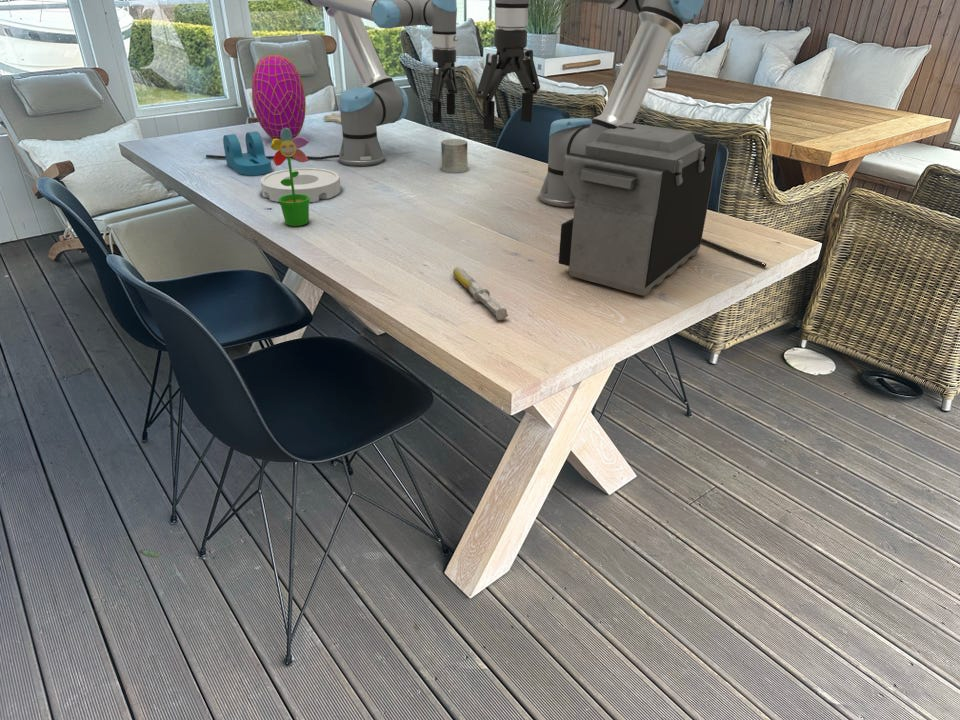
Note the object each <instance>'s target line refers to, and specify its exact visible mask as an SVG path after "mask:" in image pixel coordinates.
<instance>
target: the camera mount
mask: <svg viewBox="0 0 960 720" xmlns="http://www.w3.org/2000/svg"><path fill="white" fill-rule="evenodd" d="M222 140H223V141H222V143H223V149H224V150H223V151H224V156H226V159H225V161H226V165H227V166H228V167H230V168H231V169H232V170H234V171H236V172H237V173H238V174H239V175H244V176H260V175H267V174H270V173H271V172H272V164H271V159H268V158H266V156H267V155H266V153H265V145H264V141H263V139H262V136H261V134H260V132H258V131H247V132H246V133H245V146H246V152H243V151H242V150H243V149H242V146H241V142H240V140H239V138H238V135H236V134H235V133H231V134H224V135H223V138H222Z"/></svg>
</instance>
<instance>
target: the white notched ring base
mask: <svg viewBox="0 0 960 720" xmlns="http://www.w3.org/2000/svg"><path fill="white" fill-rule="evenodd" d="M294 171H297V172H299V174H298V175H297V176H296V177H294V178H293V183H294V191H295V194H304V195H307V196H309V203H315V202H319V201H320V200H328V199H332V198H333V197H335V196H337V195H339V194H340V193H341V190H342V188H341V187H342V185H341V176H340V174H339V173H338V172H336V171H333V170H330V169H326V168H318V167H295V168H292V172H294ZM283 179H290V173H289V168H287V169H281V170H277V171H276V170H275V171H273V172H272V171H271V172H269V173H266V174H264V175H263V176H262V177H261V178H260V187H261V188H260V189H261V194H262V196H263V198H266V199H267V198H268V199H269V201H272V202H276V203H279V198H280V197H282V196H285V195H290V194H292V188H291V186H284V185H282V184H281V181H282V180H283Z"/></svg>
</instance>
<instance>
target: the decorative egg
mask: <svg viewBox="0 0 960 720" xmlns="http://www.w3.org/2000/svg"><path fill="white" fill-rule="evenodd" d="M253 70H254V71H253V73H252V77H251V101H252V107H253V110H254V114H255V116H256V118H257V121H258V123H259V125H260V127H261V128H262V130H263V131H264V133H266V135H267V136H268V137H270V138H271V139H272V140H273V139H279V140H281V136H280V134H281V131H282V130H283V129H284V128H288V129H289V130H290V131H291V134H292V139H293V138H295V137H298V136H299V134H301V131H302V129H303V127H304V123H305V118H306V104H307V103H306V102H307V101H306V99H307V97H306V93H305V88H304V84H303V81H302V77H301V75H300V73H299V71H298V69H297V67H296V66H295V65H294V63H293V62H292V61H291V60H290V59H288V58H287V57H285V56H282V55H280V54H268V55H265V56H262V57H261V58H260V59H259V60H258V61H257V62H256V65H255V68H254V69H253ZM281 141H282V140H281Z"/></svg>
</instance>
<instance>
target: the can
mask: <svg viewBox="0 0 960 720" xmlns="http://www.w3.org/2000/svg"><path fill="white" fill-rule="evenodd" d="M440 151H441V152H440V153H441V156H440V157H441V171H443V172H444V173H445V172H446V173H451V174H457V173H464V172H466V171H468V140H465V139H462V138H448V139H447V138H446V139H443V140H441V142H440Z"/></svg>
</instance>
